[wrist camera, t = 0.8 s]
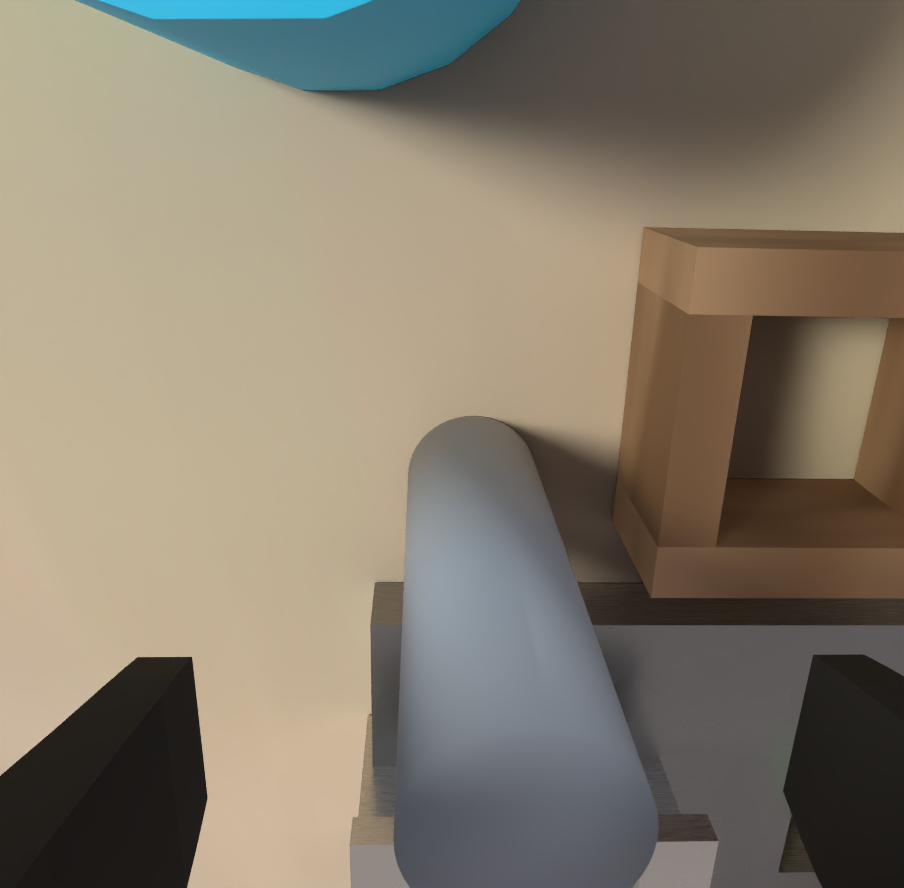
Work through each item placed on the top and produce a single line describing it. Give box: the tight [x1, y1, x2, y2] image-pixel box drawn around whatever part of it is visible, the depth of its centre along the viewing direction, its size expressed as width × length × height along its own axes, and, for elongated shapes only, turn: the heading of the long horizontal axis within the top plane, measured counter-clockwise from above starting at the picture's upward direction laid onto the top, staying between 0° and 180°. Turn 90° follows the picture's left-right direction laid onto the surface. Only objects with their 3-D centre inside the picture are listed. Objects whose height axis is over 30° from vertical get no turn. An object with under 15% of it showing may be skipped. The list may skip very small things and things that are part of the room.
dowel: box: [393, 416, 659, 888], centre depth 12 cm, size 3×3×9 cm
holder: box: [612, 227, 904, 598], centre depth 14 cm, size 6×6×3 cm
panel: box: [350, 583, 904, 888], centre depth 17 cm, size 14×10×5 cm
